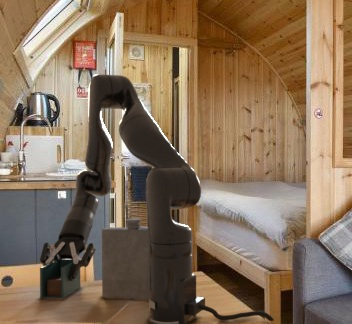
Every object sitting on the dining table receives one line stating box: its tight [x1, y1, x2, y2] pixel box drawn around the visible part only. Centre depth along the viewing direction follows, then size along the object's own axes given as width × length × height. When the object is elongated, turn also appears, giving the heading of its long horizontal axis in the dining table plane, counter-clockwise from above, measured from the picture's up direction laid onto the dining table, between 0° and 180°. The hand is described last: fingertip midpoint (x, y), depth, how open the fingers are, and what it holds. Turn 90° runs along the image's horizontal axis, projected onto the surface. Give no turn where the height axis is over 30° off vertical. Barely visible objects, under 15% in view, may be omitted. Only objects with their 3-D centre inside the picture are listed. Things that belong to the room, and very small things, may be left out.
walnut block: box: [47, 276, 61, 296], centre depth 119 cm, size 4×4×4 cm
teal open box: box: [39, 258, 81, 299], centre depth 120 cm, size 10×6×8 cm, turn 176°
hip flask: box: [101, 217, 150, 302], centre depth 116 cm, size 16×4×20 cm, turn 81°
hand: (58, 279), depth 119 cm, fingers closed on teal open box, 6 cm apart
